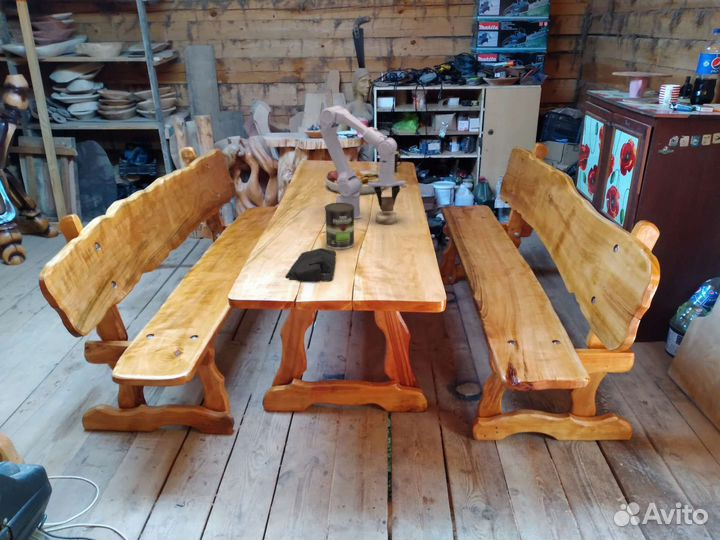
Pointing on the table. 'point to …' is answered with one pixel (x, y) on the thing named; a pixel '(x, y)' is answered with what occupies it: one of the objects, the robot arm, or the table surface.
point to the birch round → (386, 217)
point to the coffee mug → (396, 160)
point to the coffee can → (339, 225)
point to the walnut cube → (387, 204)
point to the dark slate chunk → (313, 266)
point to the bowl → (361, 174)
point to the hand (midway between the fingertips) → (386, 205)
